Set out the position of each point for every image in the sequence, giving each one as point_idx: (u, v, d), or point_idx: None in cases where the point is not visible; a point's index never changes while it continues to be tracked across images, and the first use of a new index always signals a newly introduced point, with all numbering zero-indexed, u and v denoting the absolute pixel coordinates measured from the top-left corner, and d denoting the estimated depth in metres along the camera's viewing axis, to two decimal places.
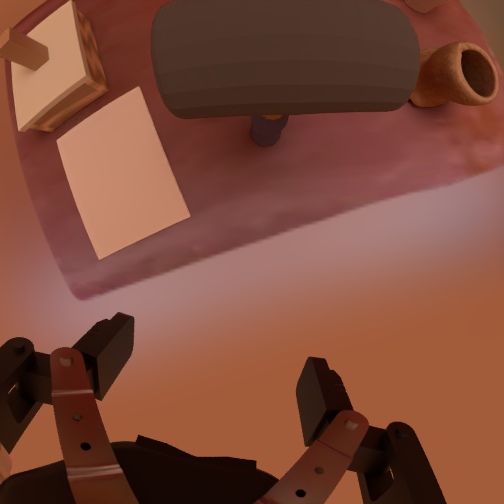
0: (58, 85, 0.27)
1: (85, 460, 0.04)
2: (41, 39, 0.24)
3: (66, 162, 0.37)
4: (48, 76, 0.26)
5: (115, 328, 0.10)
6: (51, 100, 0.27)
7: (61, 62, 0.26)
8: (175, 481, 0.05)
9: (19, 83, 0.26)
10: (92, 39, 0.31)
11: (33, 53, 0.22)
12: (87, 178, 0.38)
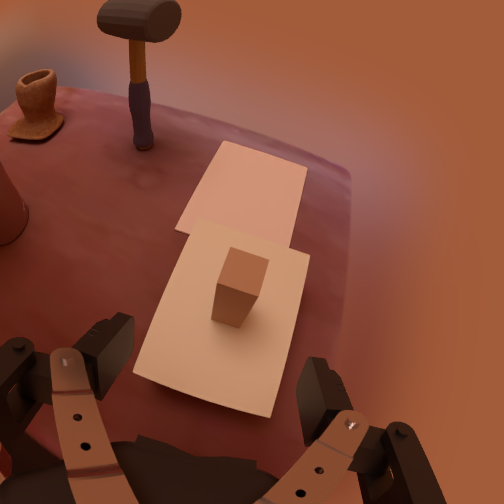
0: (230, 241, 0.33)
1: (85, 459, 0.04)
2: (211, 351, 0.26)
3: (285, 237, 0.44)
4: None
5: (115, 328, 0.10)
6: (249, 235, 0.33)
7: (209, 265, 0.31)
8: (175, 481, 0.05)
9: (280, 316, 0.29)
10: None
11: None
12: (274, 209, 0.46)
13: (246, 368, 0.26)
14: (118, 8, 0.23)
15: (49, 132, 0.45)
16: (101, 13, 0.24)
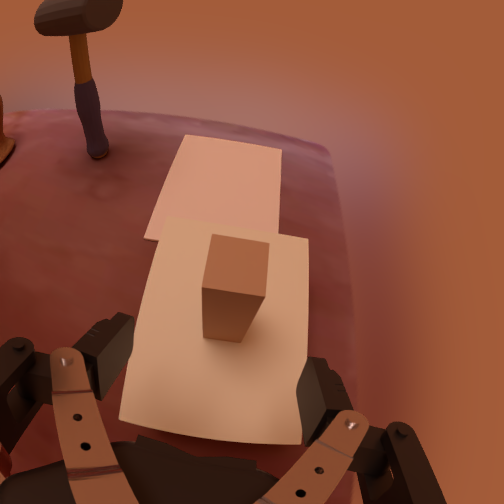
0: (210, 237, 0.26)
1: (84, 459, 0.04)
2: (211, 378, 0.20)
3: (272, 227, 0.38)
4: None
5: (115, 328, 0.10)
6: (231, 227, 0.27)
7: (189, 271, 0.24)
8: (175, 481, 0.05)
9: (288, 318, 0.23)
10: None
11: None
12: (254, 198, 0.40)
13: (259, 391, 0.20)
14: (55, 2, 0.16)
15: (0, 158, 0.36)
16: (38, 13, 0.17)
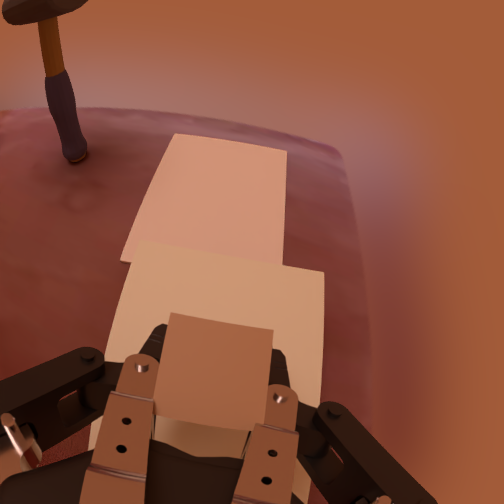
0: (194, 271, 0.20)
1: (114, 460, 0.04)
2: None
3: (275, 246, 0.31)
4: (207, 316, 0.18)
5: None
6: (223, 256, 0.21)
7: (165, 318, 0.17)
8: (175, 481, 0.05)
9: (295, 383, 0.17)
10: None
11: None
12: (253, 210, 0.34)
13: None
14: None
15: None
16: (5, 0, 0.10)
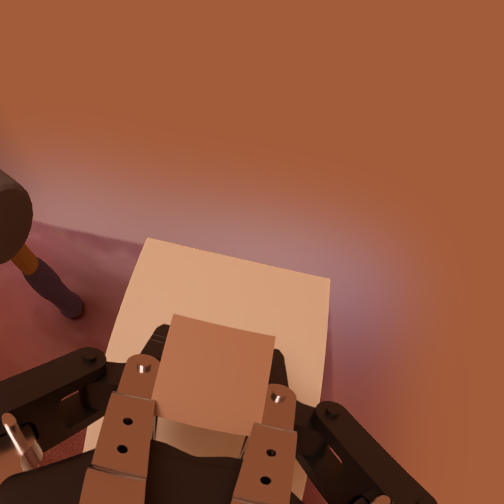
0: (200, 271, 0.20)
1: (115, 460, 0.04)
2: None
3: None
4: (211, 318, 0.18)
5: None
6: (229, 258, 0.21)
7: (168, 317, 0.18)
8: (175, 481, 0.05)
9: (295, 389, 0.16)
10: None
11: None
12: None
13: None
14: None
15: None
16: None
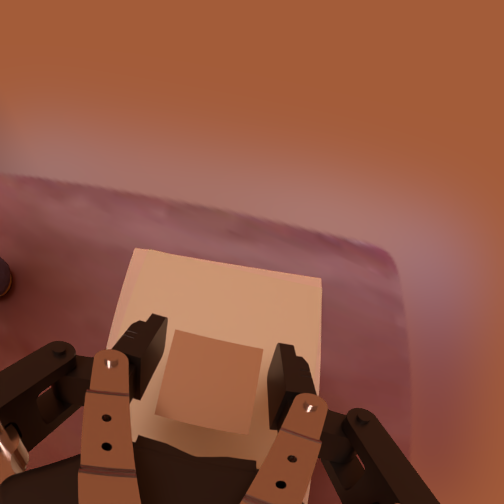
0: (199, 282, 0.21)
1: (102, 459, 0.04)
2: None
3: None
4: (209, 325, 0.19)
5: (153, 329, 0.11)
6: (227, 269, 0.22)
7: (169, 325, 0.19)
8: (175, 481, 0.05)
9: None
10: None
11: None
12: None
13: None
14: None
15: None
16: None
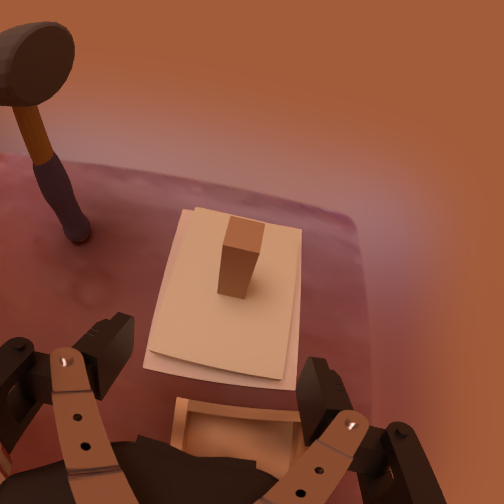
0: (227, 224, 0.36)
1: (85, 459, 0.04)
2: (220, 322, 0.29)
3: (291, 349, 0.31)
4: None
5: (115, 328, 0.10)
6: (243, 218, 0.37)
7: (210, 247, 0.34)
8: (175, 481, 0.05)
9: (280, 285, 0.33)
10: None
11: None
12: None
13: (254, 334, 0.29)
14: None
15: None
16: None
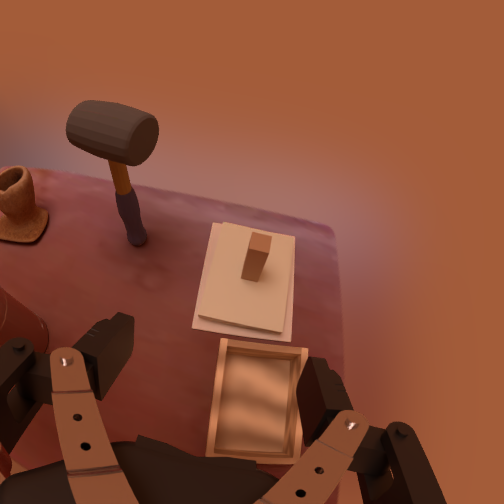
0: (245, 234, 0.54)
1: (84, 459, 0.04)
2: (243, 296, 0.48)
3: (287, 315, 0.50)
4: None
5: (115, 328, 0.10)
6: (255, 229, 0.55)
7: (235, 249, 0.52)
8: (175, 481, 0.05)
9: (280, 274, 0.51)
10: None
11: None
12: None
13: (264, 304, 0.48)
14: (89, 128, 0.27)
15: (38, 233, 0.48)
16: (70, 129, 0.28)
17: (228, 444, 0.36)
